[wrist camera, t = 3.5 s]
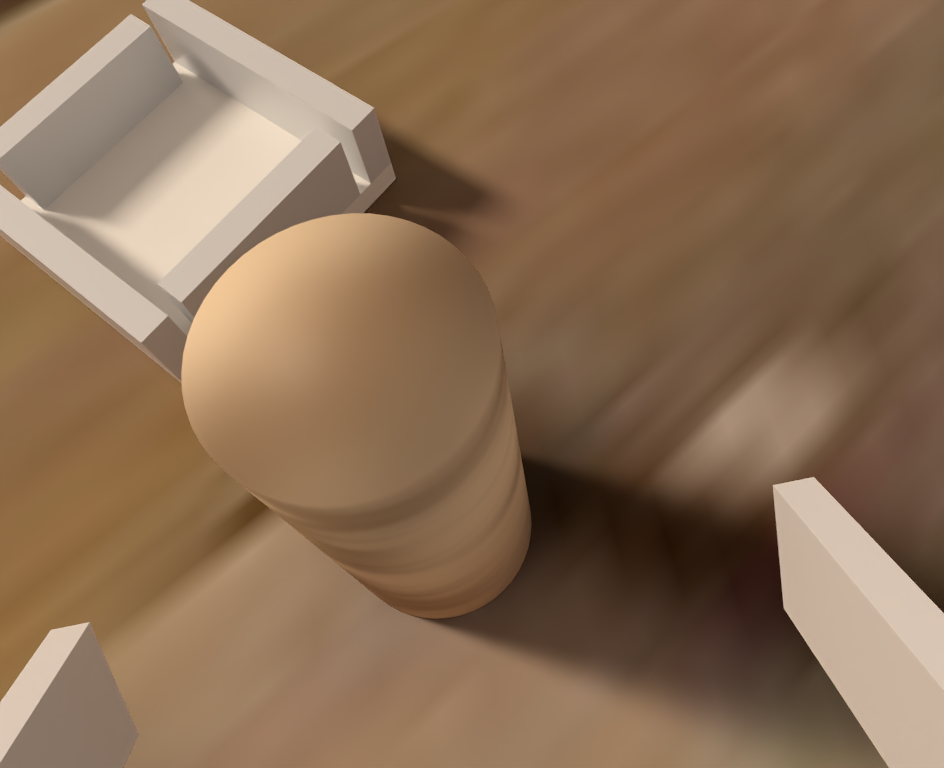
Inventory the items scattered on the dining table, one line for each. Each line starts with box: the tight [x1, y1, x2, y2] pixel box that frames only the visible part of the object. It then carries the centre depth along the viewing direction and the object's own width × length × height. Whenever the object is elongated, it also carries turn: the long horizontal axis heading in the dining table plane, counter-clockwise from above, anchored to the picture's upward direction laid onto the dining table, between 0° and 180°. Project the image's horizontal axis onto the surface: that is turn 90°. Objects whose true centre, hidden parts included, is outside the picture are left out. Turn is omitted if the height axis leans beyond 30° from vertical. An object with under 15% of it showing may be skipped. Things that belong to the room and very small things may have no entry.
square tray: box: [0, 0, 396, 383], centre depth 32 cm, size 11×11×4 cm
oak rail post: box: [181, 213, 532, 619], centre depth 21 cm, size 6×6×13 cm
